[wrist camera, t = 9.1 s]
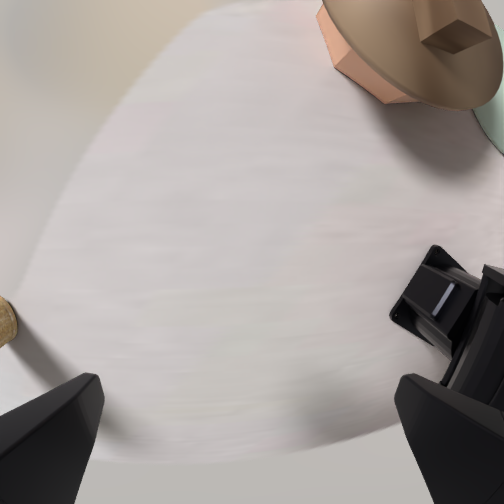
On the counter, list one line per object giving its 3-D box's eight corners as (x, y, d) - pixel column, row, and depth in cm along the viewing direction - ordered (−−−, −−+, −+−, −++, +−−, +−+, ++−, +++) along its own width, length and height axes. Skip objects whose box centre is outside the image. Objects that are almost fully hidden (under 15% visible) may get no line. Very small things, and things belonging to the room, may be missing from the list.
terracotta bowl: (454, 45, 16) (491, 28, 11) (415, 130, 18) (459, 122, 13) (355, -31, 14) (378, -65, 10) (295, 43, 16) (312, 6, 11)
